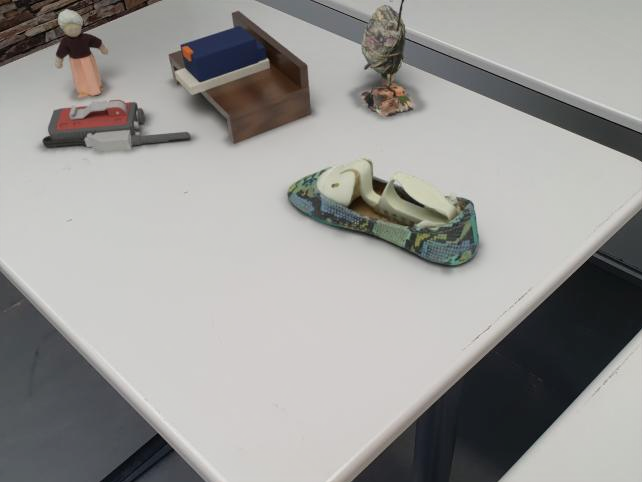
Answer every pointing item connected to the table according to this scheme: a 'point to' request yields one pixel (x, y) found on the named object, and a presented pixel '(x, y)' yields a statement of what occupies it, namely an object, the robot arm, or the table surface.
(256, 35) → the shoe shelf
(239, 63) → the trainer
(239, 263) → the table surface
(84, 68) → the grandmother figurine
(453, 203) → the ballet flat
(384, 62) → the plant with pod
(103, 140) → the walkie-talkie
